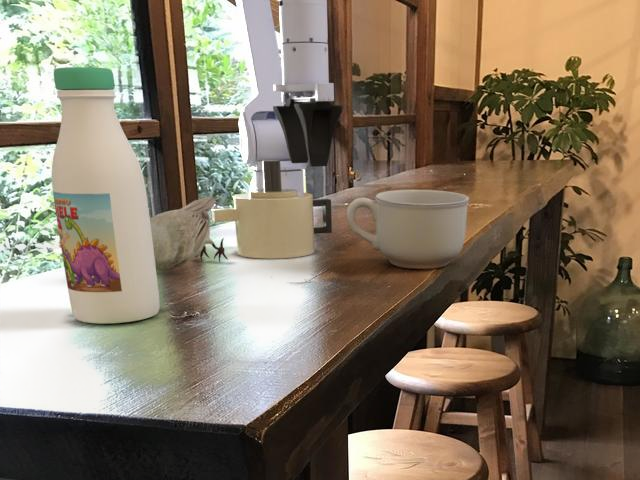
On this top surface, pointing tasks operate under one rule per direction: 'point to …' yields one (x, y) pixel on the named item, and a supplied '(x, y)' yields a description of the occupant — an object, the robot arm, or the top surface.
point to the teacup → (415, 226)
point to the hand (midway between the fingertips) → (308, 164)
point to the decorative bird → (182, 234)
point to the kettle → (275, 219)
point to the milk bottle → (101, 205)
